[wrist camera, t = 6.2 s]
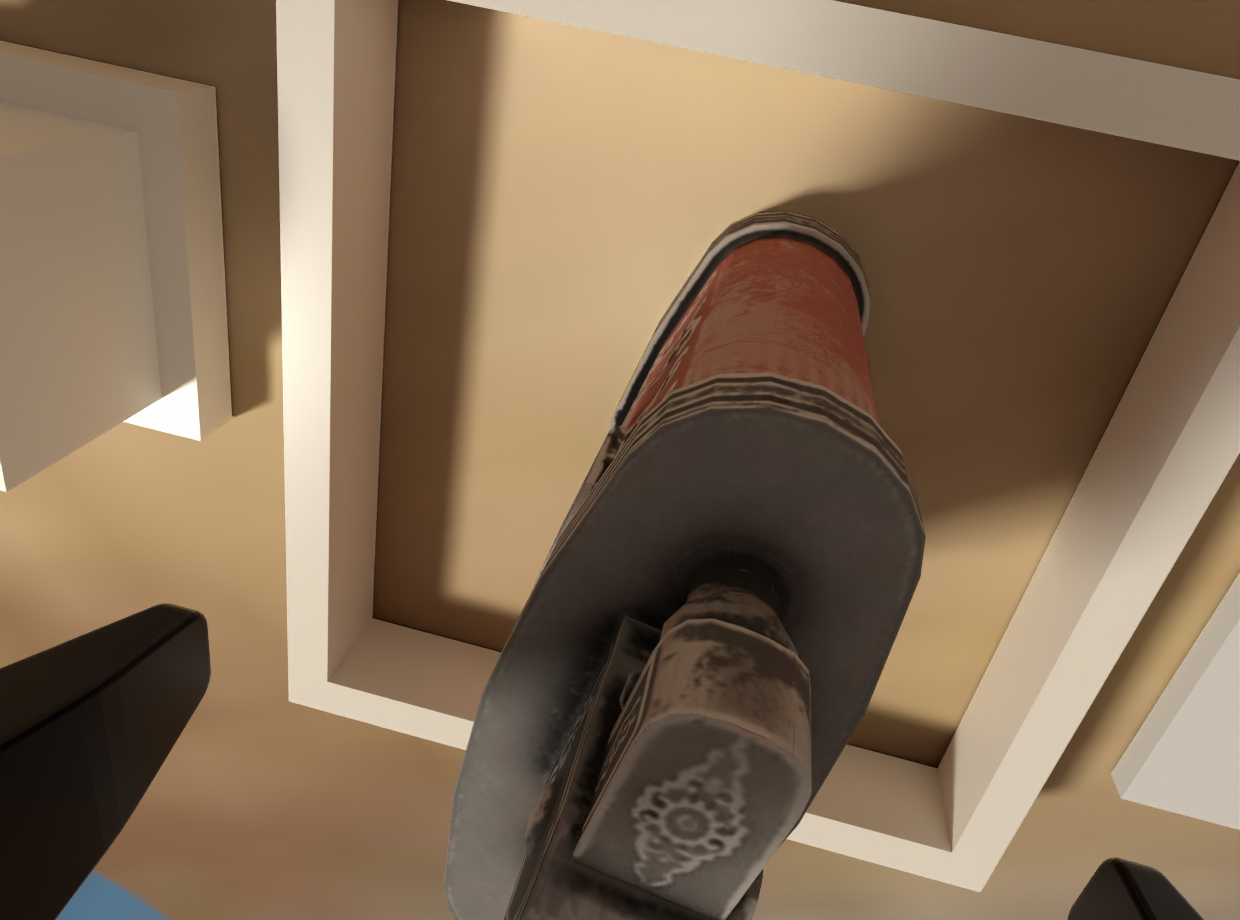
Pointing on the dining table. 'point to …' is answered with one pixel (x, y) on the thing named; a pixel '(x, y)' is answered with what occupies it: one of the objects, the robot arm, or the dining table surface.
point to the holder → (354, 346)
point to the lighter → (698, 607)
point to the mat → (1194, 730)
